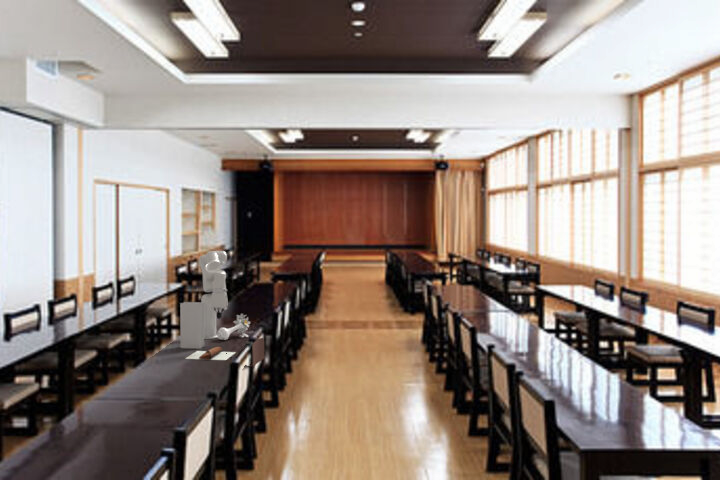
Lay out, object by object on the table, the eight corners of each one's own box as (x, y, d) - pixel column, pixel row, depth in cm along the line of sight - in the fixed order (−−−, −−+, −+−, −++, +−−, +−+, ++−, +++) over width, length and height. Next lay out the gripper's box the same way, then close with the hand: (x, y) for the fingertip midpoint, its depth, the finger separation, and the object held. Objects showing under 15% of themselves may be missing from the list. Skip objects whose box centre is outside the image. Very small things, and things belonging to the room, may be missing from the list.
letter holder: (264, 358, 346) (264, 336, 346) (253, 366, 327) (253, 343, 326) (249, 357, 348) (249, 335, 348) (237, 366, 329) (237, 342, 328)
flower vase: (226, 350, 393) (254, 336, 410) (223, 327, 386) (251, 314, 404) (215, 344, 401) (243, 331, 418) (212, 322, 394) (240, 309, 412)
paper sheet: (197, 351, 363) (197, 350, 363) (236, 352, 361) (236, 352, 361) (184, 358, 343) (184, 358, 343) (225, 360, 341) (225, 360, 341)
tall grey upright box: (204, 346, 375) (204, 302, 373) (201, 348, 369) (201, 303, 368) (183, 346, 376) (183, 301, 375) (180, 348, 371) (180, 303, 369)
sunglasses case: (209, 351, 360) (214, 342, 359) (218, 357, 359) (223, 348, 359) (198, 358, 342) (203, 349, 341) (207, 364, 342) (213, 355, 341)
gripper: (232, 290, 368) (232, 317, 369) (210, 289, 370) (210, 316, 371) (228, 291, 361) (228, 319, 362) (206, 291, 362) (206, 319, 363)
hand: (219, 318), depth 366 cm, fingers closed
